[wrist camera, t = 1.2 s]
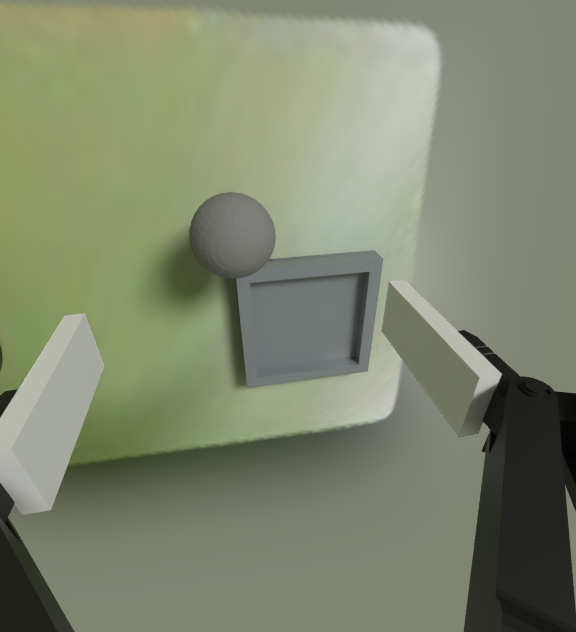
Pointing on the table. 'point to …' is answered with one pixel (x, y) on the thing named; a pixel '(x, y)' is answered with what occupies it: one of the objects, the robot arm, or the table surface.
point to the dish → (308, 316)
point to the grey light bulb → (232, 235)
